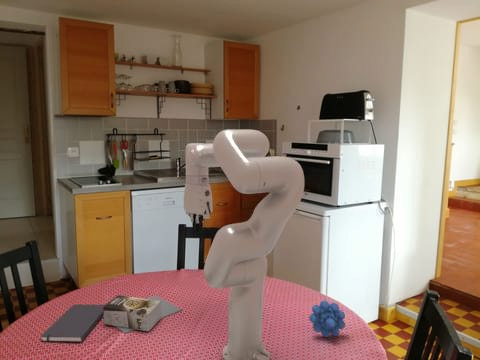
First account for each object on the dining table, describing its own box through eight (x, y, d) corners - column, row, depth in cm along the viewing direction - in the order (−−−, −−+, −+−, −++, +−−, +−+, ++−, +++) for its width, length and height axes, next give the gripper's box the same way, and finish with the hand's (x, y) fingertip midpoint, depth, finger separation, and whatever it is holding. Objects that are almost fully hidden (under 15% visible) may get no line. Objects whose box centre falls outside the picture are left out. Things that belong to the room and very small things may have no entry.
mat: (181, 310, 139) (181, 309, 139) (125, 333, 123) (125, 332, 123) (155, 296, 150) (155, 295, 150) (100, 316, 134) (100, 314, 134)
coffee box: (148, 312, 123) (102, 306, 127) (149, 332, 124) (103, 325, 128) (161, 299, 132) (117, 294, 135) (161, 318, 133) (118, 311, 136)
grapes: (312, 345, 119) (314, 307, 117) (306, 333, 125) (307, 297, 123) (349, 343, 120) (352, 306, 118) (341, 332, 126) (343, 296, 125)
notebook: (81, 342, 118) (109, 308, 139) (81, 337, 117) (108, 304, 138) (40, 341, 118) (73, 308, 139) (39, 336, 118) (73, 304, 139)
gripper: (221, 181, 130) (220, 235, 133) (190, 177, 140) (191, 227, 143) (204, 183, 125) (204, 240, 127) (174, 179, 135) (174, 231, 137)
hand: (197, 233), depth 135 cm, fingers closed
